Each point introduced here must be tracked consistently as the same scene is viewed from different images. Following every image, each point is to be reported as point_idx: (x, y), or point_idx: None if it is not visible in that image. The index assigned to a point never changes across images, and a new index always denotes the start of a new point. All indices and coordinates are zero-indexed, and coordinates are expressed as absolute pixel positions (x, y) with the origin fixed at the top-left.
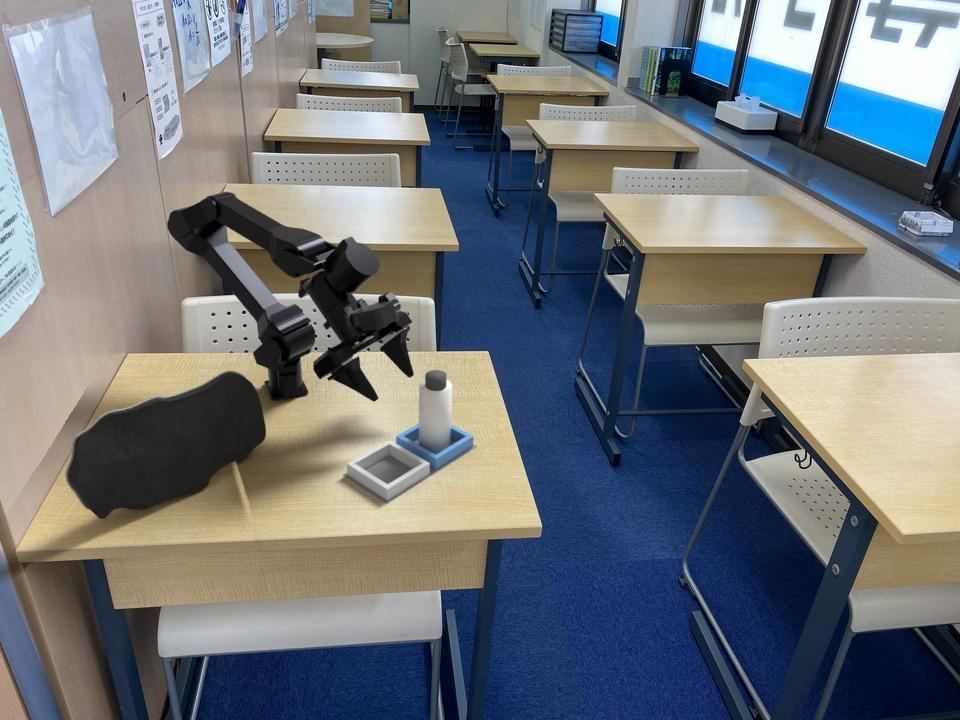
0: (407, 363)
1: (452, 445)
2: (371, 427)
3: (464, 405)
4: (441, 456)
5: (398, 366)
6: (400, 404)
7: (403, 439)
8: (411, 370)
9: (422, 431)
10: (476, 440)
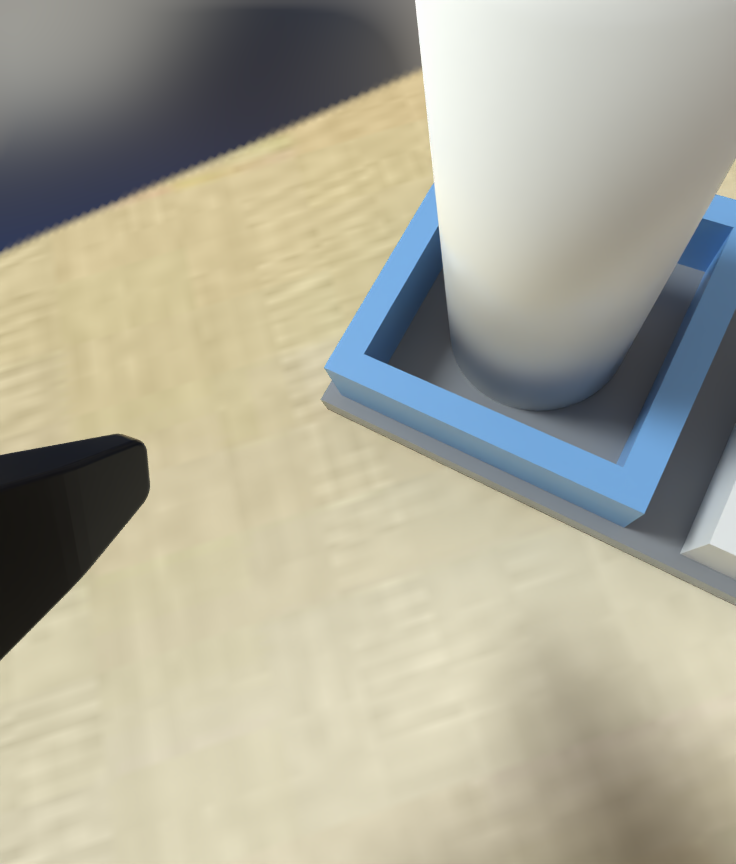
0: (5, 484)
1: None
2: (426, 768)
3: (109, 332)
4: (727, 202)
5: (7, 637)
6: (142, 656)
7: (660, 455)
8: (88, 450)
9: (656, 298)
10: (382, 203)
